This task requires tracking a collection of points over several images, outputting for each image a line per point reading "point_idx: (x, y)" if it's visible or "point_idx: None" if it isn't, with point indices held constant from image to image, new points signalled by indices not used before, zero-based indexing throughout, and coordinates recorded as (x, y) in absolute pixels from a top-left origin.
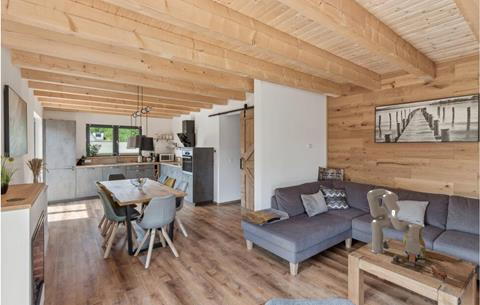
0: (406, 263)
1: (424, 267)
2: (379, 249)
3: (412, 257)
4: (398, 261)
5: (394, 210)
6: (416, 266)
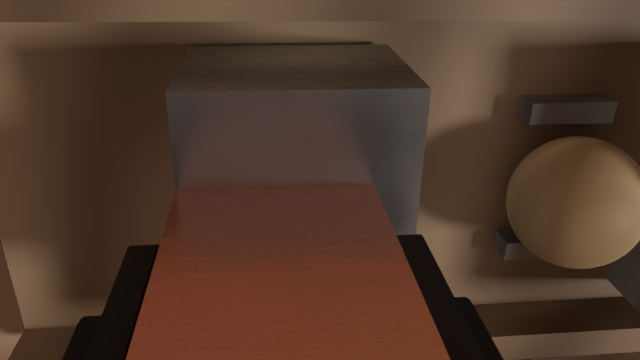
0: None
1: (34, 341)
2: None
3: (269, 351)
4: None
5: None
6: None
